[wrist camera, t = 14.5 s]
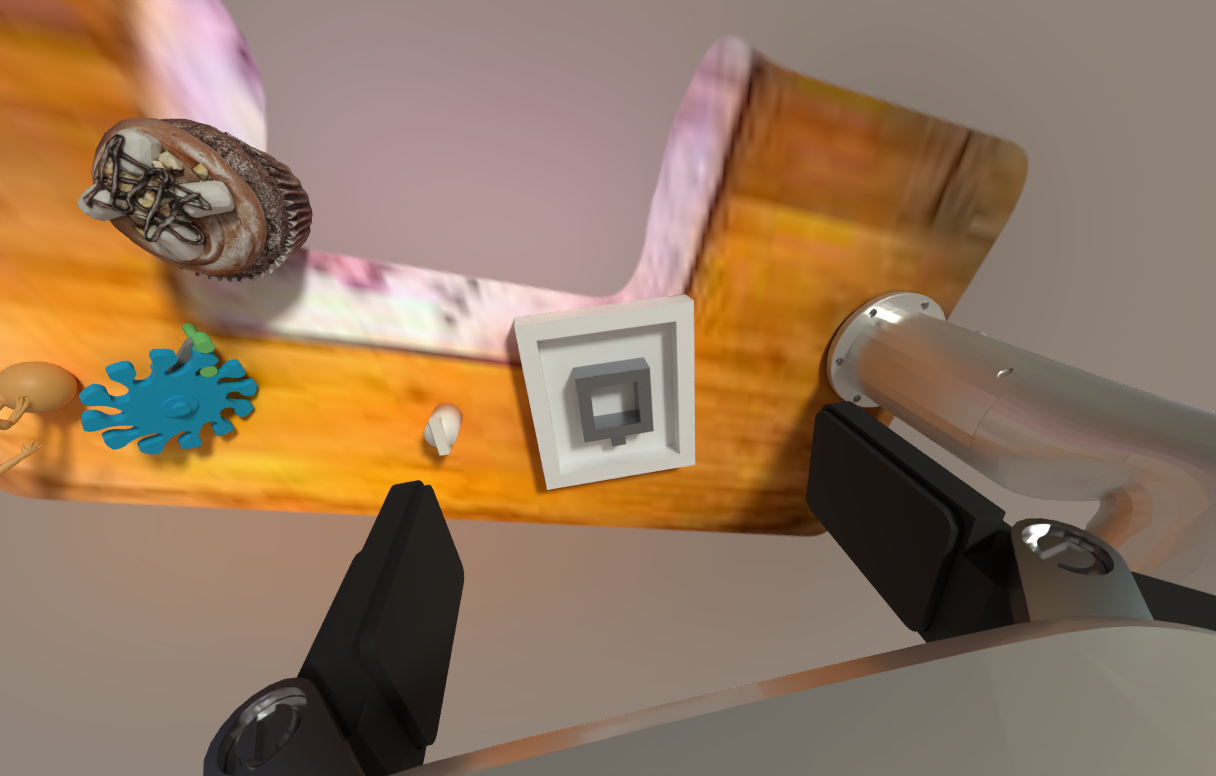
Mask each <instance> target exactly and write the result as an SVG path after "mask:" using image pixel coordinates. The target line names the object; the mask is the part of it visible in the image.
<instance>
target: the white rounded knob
mask: <svg viewBox="0 0 1216 776" xmlns="http://www.w3.org/2000/svg"><path fill="white" fill-rule="evenodd" d="M462 419H463V415H462V412H461V410H460V409H459V408H458V407H456V406H455V405H452V404H441V405H438V406H437V407H436V408H435V409H434V410H433V413H432V415H431V417H430V419H429V422H428V424H427V426H426V428H425V431H424V437H425V439H426V441H427V442H428V443H429V444H430V445H432V446H434V447H436V448H437V449H438V452H439V455H446V454H450V452H451V447H450V446H451V445H453V444H454V443H455V441H456V439H457V436H458V432H459V429H460V426H461V423H462Z"/></svg>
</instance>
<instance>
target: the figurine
mask: <svg viewBox="0 0 1216 776" xmlns="http://www.w3.org/2000/svg"><path fill="white" fill-rule="evenodd" d="M76 392H77V382H76V380H75V378H74V377H73V375H72V374H71V373H70V372H68V371H67V370H65V369H64V368H62V367H60V366H57V365H55V364H51V363H46V362H23V363H18V364H15V365H12V366H10V367H7V368H6V369H4V370H2V371H1V372H0V410H1V409H2V408H3V407H5V406H7V407H9V408H11V409H14V411H13V413H12V414H11V416H10V417H9V419H8V420H3V419H0V429H1V430H7V429H9V428H11V426H12V425H14V424H16V423H17V422H18V420H19V419H20V418H21V416H22V415H23V414H24V412H28V413H42V412H49V411H53V410H56V409H59V408H61V407H63V406H65V405H66V404H68V403H69V402H70V401H71V400H72V399H73V398H74V396H75V395H76ZM33 443H34V440H33V441H32V442H31V443H30V444H29V446H28V447H27V448H25V447H24V444H22V446H21V450H22V453H21V454H19V455H17V456H15V457H13V458H11V459H10V460H8V461H6V462H5V463H3V464H2V465H0V475H2V474H3V473H4V472H6V471H7V470H9V469H10V468H12V467H13V466H15V465H16V464H17V463H19V462H20V461H21V460H22V459H24V458H26V457H28V456H30V455H31V454H33V453H34V452H36V451H37V450H38V449H39V448H40V447H41V446H42V445H43V444H42V445H40V446H39V447H37V446H38V445H39V443H40V441H39V442H38V443H37V444H35V445H34V446H32V445H33ZM36 447H37V448H36Z"/></svg>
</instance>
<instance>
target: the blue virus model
mask: <svg viewBox="0 0 1216 776" xmlns="http://www.w3.org/2000/svg"><path fill="white" fill-rule="evenodd" d="M182 329H183V330H184V332H185V334H186V336H187V337H188V338H187V339H186V340H185V342H184V343H183V345H182V347H181V348H180V350H179V352H178V353H177V355H175V353H174V351H173V350H170V349H152V350H151V351H150V353H149V356H150V358H151V360H152V362H153V363H152V364H151V365H150V367H151V369H152V372H151V374H150V376H149V377H148V378H146V379H143V380H134V378H135V376H136V371H135V369H134V367H133V364H132V363H131V362H129V361H122V362H117V363H114V364H111V365H109V366H106V371H107V373H108V376H109V378H110V379H111V380H113V381H116V382H119V383H121V384H123V385H125V386H126V387H127V388H128V389H129V392H128V393H127V394H125V395H123V396H111V395H110V394H108V392H107V389H106V388H105V387H104V386H102V385H99V384H92V385H89V386H88V387H86V388H85V389H84V390H83V391H82V392H81V393H80V394H79V397H80V400H81V403H83V404H84V405H87V406H108V407H113V408H117V409H119V410H121V411H122V412H121V413H119V414H116V415H108V414H105V413H103V412H101V411H97V410H88V411H84V412H83V413H82V415H81V423H82V426H83V429H84V431H87V432H93V431H98V430H101V429H104V428H108V427H113V426H134V427H133V428H130V429H112V430H108V431H105V432H103V433H102V437H103V439H104V442H105V444H106V445H107V446H108V447H110V448H111V449H113V450H115V449H120V448H122V447H124V446H126V445H127V444H128V443H129V442H131V441H133V440H134V439H136V438H139V437H142V436H145V435H149V434H153V433H158V434H157V435H154V436H150V437H146V438H144V439H142V440H140V441H139V442H138V447H139V449H140V451H141V452H143V453H147V454H158V453H160V452H161V451H162V450H163V449H164V445H165V444H166V442H167V441H168V440H169V439H170V438H172V437H173V436H175V435H176V434H178V433H180V432H183V431H187V432H186V433H184V434H182V435H181V436H180V437H179V438H178V442H179V444H180V446H181V448H182V449H189V448H195V447H199V446H200V445H201V444H202V441H201V439H200V437H199V431H200V429H201V428H202V426H203V425H204V424H205V423H208V422H213V423H212V425H211V427H212V429H213V431H214V433H215V434H216V435H217V436H220V435H224V434H226V433H229V432H231V431H233V430H234V427H233V425H232V423H231V422H230V420H228V419H225V418H223V417H221V416H220V412H221V410H223V409H224V408H228V407H231V408H233V409H234V411H235V413H236V415H237V416H240V417H244V416H246V415H248V414H249V413H250V412H251V411H252V410H253V409H254V407H253V405H252V404H251V402H250V401H249V400H246V399H242V400H239V399H232V398H229V397H228V396H226V395H227V394H228V393H230V392H233V391H237V392H239V393H241V394H242V395H245V396H252V395H254V394H255V392H256V390H257V384H256V382H255V381H254V379H252V378H246V379H242V380H239V381H234V382H223V381H218V380H219V379H220V378H223V377H232V378H239V377H242V376H244V375H245V370H244V369H243V367H242V365H241V364H240V363H239V361H238V360H237V359H232V360H229V361H227V362H226V363H225V364H223V365H222V366H220V367H218V368H216V367H215V364H216V363H217V362H218V358H217V357H216V355H215V354H214V353H213V351H214V349H215V345H214V344H213V342H212V340H211V339H210V337H209V336H208V334H206V333H204V332H197V330H196V328H195V326H194V325H193V324H190V323H186V324H184V325H183V326H182Z"/></svg>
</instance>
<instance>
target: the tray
mask: <svg viewBox="0 0 1216 776" xmlns="http://www.w3.org/2000/svg"><path fill="white" fill-rule="evenodd" d="M514 329H515V334H516V339H517V343H518V348H519V353H520V358H521V363H522V368H523V373H524V378H525V383H526V388H527V393H528V398H529V402H530V407H531V412H532V417H533V422H534V427H535V432H536V437H537V442H538V447H539V452H540V457H541V461H542V466H543V471H544V476H545V481H546V486H547V490H549V489H555V488H561V487H567V486H573V485H579V484H584V483H590V482H596V481H602V480H608V479H614V478H620V477H625V476H631V475H637V474H643V473H649V472H655V471H661V470H666V469H672V468H678V467H684V466H690V465H695V396H694V301H693V300H692V299H691V298H689V297H688V296H687V295H686V294H682V295H675V296H668V297H660V298H653V299H646V300H638V301H631V302H623V303H616V304H609V305H601V306H594V307H587V308H579V309H572V310H564V311H557V312H550V313H542V314H535V315H528V316H520V317H515V322H514ZM641 357H644V359H645V360H646V362H647V364H648V365H649V367H650V378H651V395H652V412H653V429H654V431H653V432H646V433H640V434H634V435H628V436H625V439H626V444H625V445H619V446H613V447H612V444H611V438H610V439H603V440H597V441H591V442H584V437H583V431H582V425H581V418H580V411H579V404H578V397H577V390H576V384H575V377H574V370H573V368H574V367H580V366H587V365H594V364H601V363H608V362H614V361H621V360H628V359H635V358H641ZM590 392H591V399H592V407H593V415H594V416H599V415H605V414H612V413H618V412H624V411H631V410H635V399H634V386H633V383H626V384H619V385H613V386H606V387H600V388H593V389H590Z"/></svg>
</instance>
